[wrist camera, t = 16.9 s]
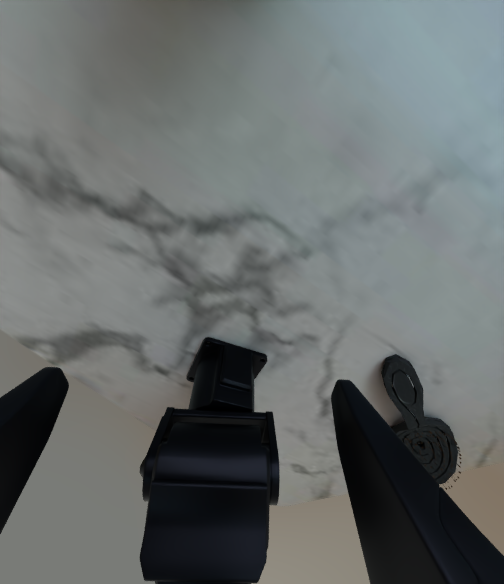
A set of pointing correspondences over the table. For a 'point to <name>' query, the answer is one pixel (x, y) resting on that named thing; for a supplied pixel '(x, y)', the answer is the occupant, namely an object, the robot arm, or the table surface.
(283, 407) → the table surface
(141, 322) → the table surface
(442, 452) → the hairbrush
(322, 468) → the table surface
